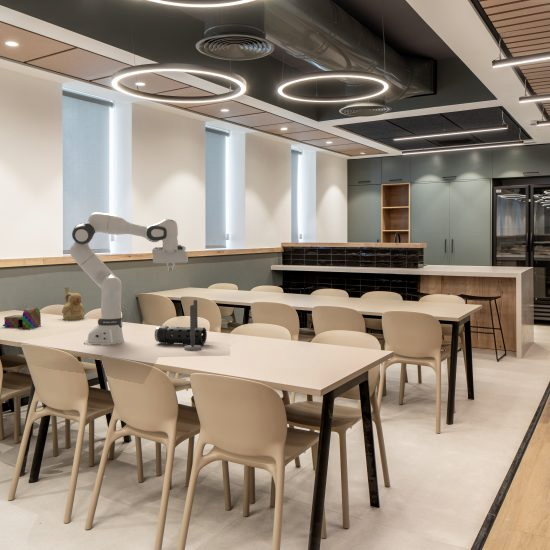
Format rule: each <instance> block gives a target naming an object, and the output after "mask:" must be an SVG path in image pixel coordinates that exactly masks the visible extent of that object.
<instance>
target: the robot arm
mask: <svg viewBox="0 0 550 550" xmlns="http://www.w3.org/2000/svg"><path fill="white" fill-rule="evenodd" d="M178 229H179V227H178V224H177V222H176V220H173V219H167V218H165V219H163V220H161V221H159V222H158V223H155V224H152V225H149V226H145V225H140V224H135V223H131V222H129V221H127V220H126V219H124V218H122V217H121V216H118V215H115V214H111V213H110V214H109V213H106V212H105V213H104V212H92V213H91V214H90V215H89V217H88V220H87V222H80V223H79V224H77V225H76V226H75V227H74V228H73V230H72V232H71V237H72V240H73V241H74V243H73V244H72V245H71V247H70V248H69V254H70V256H71V258H73V260H74V261H75V263H76V264H77V265H78V267H80V268H81V270H82V271H83V272H84V273H86V274H87V276H88V277H89V278H90V279H91V280H92V282H94V283H95V284H96V285H97V286H98V288H100V290H101V299H100V300H101V302H100V304H101V305H100V309H101V310H100V313H101V317H99V318H98V320H97V326H95V327H94V328H93V329H91V330H90V331H89V332H88V335H87V340H85V341H83V344H84V343H85V344H84V345H86V344H101V345H102V346H110V344H112V345H116V343H118V344H122V342H123V343H125V342H124V341H125V338H124V334H123V317H122V294H123V293H122V290H123V289H122V288H123V287H122V285H123V284H122V283H123V282H122V280H121V279H120V278H119V277H117V276H116V275H115V274H114V273H113V271H112V270H111V269H110V268H109V267H108V266H107V265H106V264H105V263H104V261H103V260H102V259H101V258H100V257H99V256H98V255H97V254H96V253H95V252H94V251H93V250H92V249H91V247H90V245H89V243H90V242H91V241H92V240H93V237H94V235H95V234H96V233H102V234H107V235H115V236H116V235H117V236H118V235H131V236H132V235H133V236H137V237H142V238H145V239H146V240H147V241H148V242H151V243H158V242H160V241H162V247H160V246H159V247H158V246H157V247H156V246H155V247H153V248H152V249H151V252H152V264H165V266H166V267H167V271H168V272H173V271H174V268H175V266H176V264H187V263H188V262H189V256H188V252H187V251H186V246H185V245H182V244H179V241H178V235H179V232H178V231H179V230H178ZM169 264H171V265H172V267H169ZM101 345H100V346H101Z"/></svg>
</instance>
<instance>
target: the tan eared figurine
mask: <svg viewBox="0 0 550 550" xmlns="http://www.w3.org/2000/svg"><path fill="white" fill-rule="evenodd" d="M64 291H65V295H64V302H65V304H64V305H63V308H62V310H61V314H63V315H62V318H63V320H65V321H77V320H78V321H79V320H83V319H85V314H84V313H85V308H84V305H83V304H82V303H81V302H82V295H81V294H80V293H78V292H74V293H73V292H70V287H64Z"/></svg>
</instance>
